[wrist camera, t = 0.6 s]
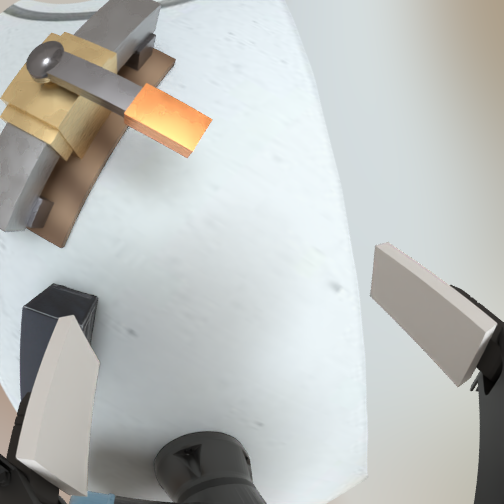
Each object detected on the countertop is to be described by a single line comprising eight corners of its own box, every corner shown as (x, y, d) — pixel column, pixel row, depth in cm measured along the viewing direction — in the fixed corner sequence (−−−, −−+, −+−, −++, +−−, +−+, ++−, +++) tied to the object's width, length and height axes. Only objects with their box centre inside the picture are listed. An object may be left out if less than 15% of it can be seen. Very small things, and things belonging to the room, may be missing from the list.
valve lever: (25, 78, 14) (17, 66, 12) (48, 48, 14) (44, 35, 12) (185, 160, 19) (191, 153, 18) (206, 126, 20) (213, 117, 18)
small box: (49, 280, 28) (19, 302, 18) (99, 295, 31) (86, 324, 21) (41, 359, 28) (17, 402, 18) (87, 373, 30) (77, 421, 21)
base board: (64, 247, 28) (60, 248, 27) (-10, 203, 24) (-15, 202, 22) (173, 64, 31) (175, 59, 30) (102, 31, 26) (102, 25, 25)
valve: (45, 233, 26) (-2, 239, 15) (0, 207, 23) (-57, 199, 12) (157, 53, 29) (175, -12, 17) (114, 33, 26) (117, -33, 14)
